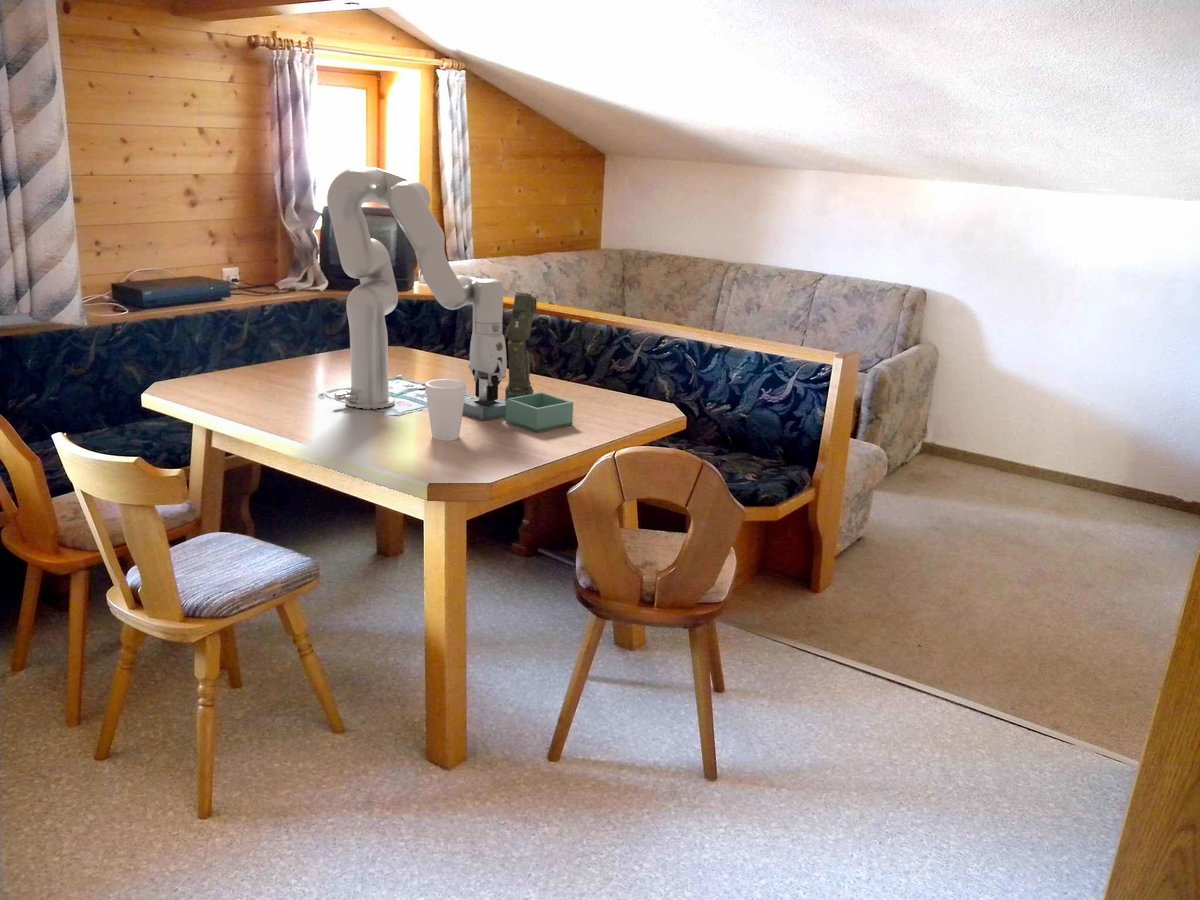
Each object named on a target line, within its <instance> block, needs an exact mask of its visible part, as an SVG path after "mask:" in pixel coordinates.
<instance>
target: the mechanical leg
mask: <svg viewBox="0 0 1200 900" xmlns="http://www.w3.org/2000/svg"><path fill="white" fill-rule="evenodd" d="M537 304H538V303H537V297H536V296H533V295H532V294H529V293H528V292H527V293H526V292H516V293H515V295H514V301H513V307H512V312H511V313H512V314H511V318H509V324H508V334H507V337H508V338H507V339H508V341H507V351H508V384H507V386H506V388H505V394H504V395H505V397H504V398H505V399H504V401H506V399H508V398H514V397H520V396H525V395H531V394H534V389H533V386H532V385H531V381H530V374H531V372H530V371H531V358H530V355H529V354H528V353H527V352H526V341H528V340H529V339H530V337H531V331H532V325H533V320H534V314H535V312H536V310H537V307H538V306H537Z"/></svg>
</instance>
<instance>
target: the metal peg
mask: <svg viewBox="0 0 1200 900" xmlns="http://www.w3.org/2000/svg"><path fill="white" fill-rule="evenodd" d="M478 377H479V397H478V398H479V404H480V405H483V406H488V405H494V400H493V401H487V386H489V383H488V374H486V373H484V372H482V371H478ZM494 377H495V376H492V378H494Z"/></svg>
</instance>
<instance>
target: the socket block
mask: <svg viewBox="0 0 1200 900" xmlns="http://www.w3.org/2000/svg"><path fill="white" fill-rule="evenodd" d="M462 415H466V416H468V417H470V418H474V419H477V420H480V421H482V422H484V421H491V420H494V419H498V418H499V419H501V418H506V401H505V399H504V400H503V399H501V398H498V399H497V400H494V405H488V406H483V405H480V404H479V397H476V398H470V399H464V406H463V413H462Z"/></svg>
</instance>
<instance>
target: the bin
mask: <svg viewBox="0 0 1200 900" xmlns="http://www.w3.org/2000/svg"><path fill="white" fill-rule="evenodd" d="M573 416H574V401H570V400H568V399H564V398H561V397H558V396H555V395H551V394H548V393H545V392H536V393H533V394H531V395H525V396H520V397H514V398H508V399H506V416H505V418H504V419H505V423H508V424H511V425H513V426H515V427H516V426H517V427H519V428H522V429H525V430H528V431H531V432H534V433H542V432H547V431H550V430H551V429H552V430H556V429H560V428H559V427H561V428H564V426H566V427H570V426H573V420H574V419H573ZM569 425H570V426H569ZM555 428H556V429H555ZM552 430H551V431H552Z"/></svg>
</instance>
